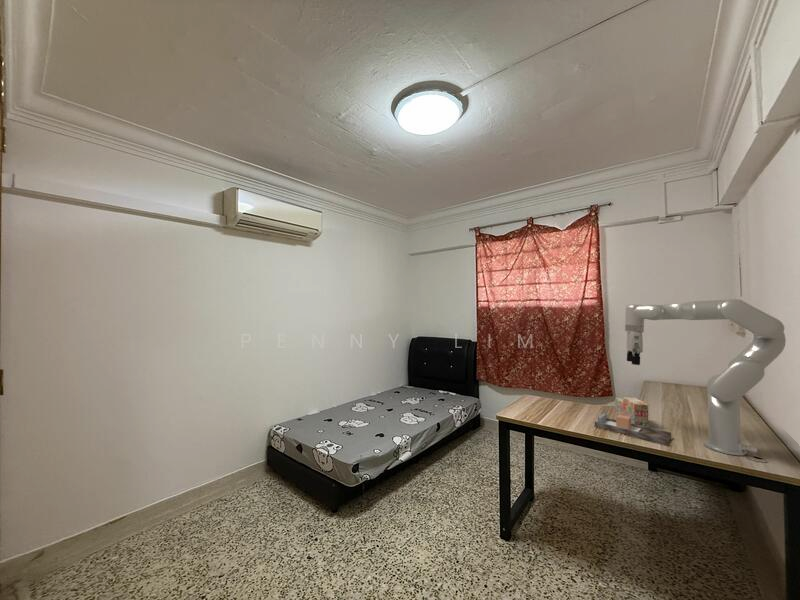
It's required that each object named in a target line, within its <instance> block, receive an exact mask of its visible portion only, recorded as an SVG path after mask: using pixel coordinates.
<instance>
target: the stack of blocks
mask: <svg viewBox="0 0 800 600" xmlns="http://www.w3.org/2000/svg"><path fill="white" fill-rule="evenodd" d="M614 404H615V405H614V408H615V409H614V410H615V412H617V413H618V414H620V415H624V416H629V417H631V423H632V424H636V425H641V426H645V427H649V404H648V403H646V402H645V401H642V400H640V399H638V398H636V397H629V396H627V397H626V396H623V397H621V398H620V397H615V398H614ZM615 412H614V413H615Z"/></svg>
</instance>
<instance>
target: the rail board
mask: <svg viewBox="0 0 800 600" xmlns="http://www.w3.org/2000/svg"><path fill="white" fill-rule="evenodd" d="M607 421H612V422H616V418H615V419H614V418H610V417H607ZM631 426H633V427H637V428H641V431H640V432H637V431H633V430H629V429H625V428H621V427H616V426H612V425H608V424H604V423H600V422H598V421H594V428H595V427H596V428H595V429H599V428H600V429H599V430H602V429H605V430H604V431H606V430H609V431H608V432H610V431H612V432H611V433H614V432H616V433H615V434H618V433H620V434H619V435H622V434H624V435H623V436H626V435H627V436H626V437H630V436H631V437H630V438H634V439H637V440H641V439H642V441H645V442H650V443H654V444H658V445H662V446H666V447H667V446H668V445H669V444H670V442H671V440H672V432H671V431H665V430H661V429H656V428H654V427H649V426H648V427H645V426H641V425H636V424H632V423H631Z"/></svg>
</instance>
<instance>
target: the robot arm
mask: <svg viewBox="0 0 800 600" xmlns="http://www.w3.org/2000/svg"><path fill="white" fill-rule="evenodd" d="M645 320H647V321H648V320H650V321H661V320H663V321H664V320H686V321H706V320H707V321H710V320H711V321H713V320H729V321H730V322H733V323H734V324H736V325H738V326H739V327H742V328H743V329H745V330H747V331H749V332H750V333H752V334H753V339H752V341H751V342H750V344H748V345H747V346H746V347H745V348H744V349H743V350H742V351H741V352H740V353H739V354H738V355H737V356H735V357H734V358H733V359H731V360H730V361H729V362H728V365H727V368H726V369H724V370H723V371H722V372H721V373H720V374H716V375H712V376H711V377H710V378H709V379H708V380H707V383H706V384H707V385H706V386H707V388H706V389H707V408H708V409H707V416H708V417H707V418H708V419H707V421H708V424H707V425H708V439H706V440H704V441H703V445H704V446H705V447H706V448H708V449H710V450H712V451H715V452H718V453H721V454H727V455H733V456H745V455H746V456H747V452H751V453H755V454H758V448H757V447H753V445H750V444H749V445H747V444H745V443H743V441H742V440H741V403H740V401H741V400H740V399H741V398H742V397H743V396H745V395H746V394H747V393H749V391H751V390H752V389H753V388H754V387H755V386H757V385H758V384H759V383H760V382H761V381H762V379H764V377H765V375H766V373H765V369H767V367H769V365H771V364H772V362H774V361H775V360H776V359H777V358H778V357H779V356H780V355H781V354H782V353H783V351H784V349H785V348H786V347H785V346H786V342H787V341H786V333H785V332H784V331H785V325H784V324H783V322H782V321H781V320H779V319H778V318H776V317H775V316H772V315H770V314H769V313H766V312H765V311H762V310H760V309H758V308H757V307H754V306H753V305H751V304H750V303H747V302H746V301H743V300H742V299H737V298H730V299H715V300H698V301H697V300H695V301H688V302H683V303H674V304H673V303H669V304H646V305H643V304H627V305H626V306H625V323H624V324H625V325H624V331H625V332H627V334H626V350H627V351H626V361H627V362H631V365H636V366H640V365H641V354H642V353H643V351H644V349H643V347H644V345H643V344H644V343H643V339H644V338H643V334H644V333H645V331H644V330H645Z"/></svg>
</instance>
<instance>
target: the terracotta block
mask: <svg viewBox="0 0 800 600" xmlns="http://www.w3.org/2000/svg"><path fill="white" fill-rule="evenodd" d="M615 420H616V427H621V428H625V429H630V428H631V417H629V416H624V415H616V418H615Z"/></svg>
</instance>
